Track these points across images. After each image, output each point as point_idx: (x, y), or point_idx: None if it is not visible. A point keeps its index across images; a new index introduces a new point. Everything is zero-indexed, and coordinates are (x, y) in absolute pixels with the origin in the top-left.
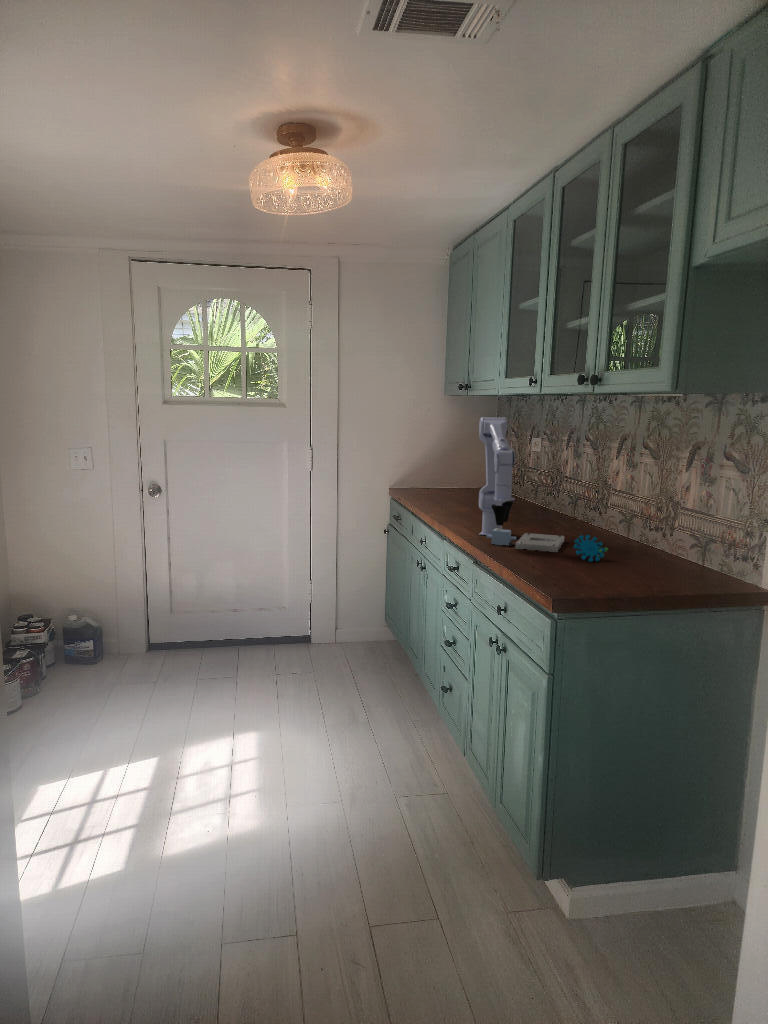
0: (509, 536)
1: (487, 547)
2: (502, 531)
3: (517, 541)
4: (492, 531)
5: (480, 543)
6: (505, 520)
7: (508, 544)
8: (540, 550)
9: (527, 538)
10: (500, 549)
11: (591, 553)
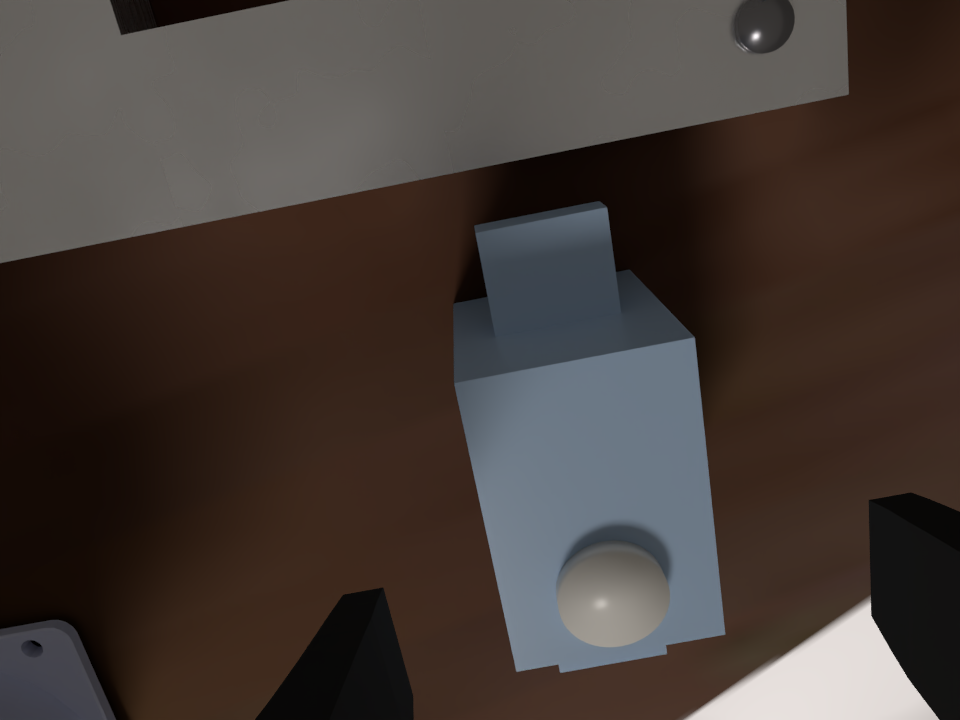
0: (611, 318)
1: (874, 471)
2: (700, 464)
3: (680, 120)
4: (721, 617)
5: None
6: (385, 640)
7: (634, 277)
8: None
9: (290, 58)
10: (934, 275)
11: None
